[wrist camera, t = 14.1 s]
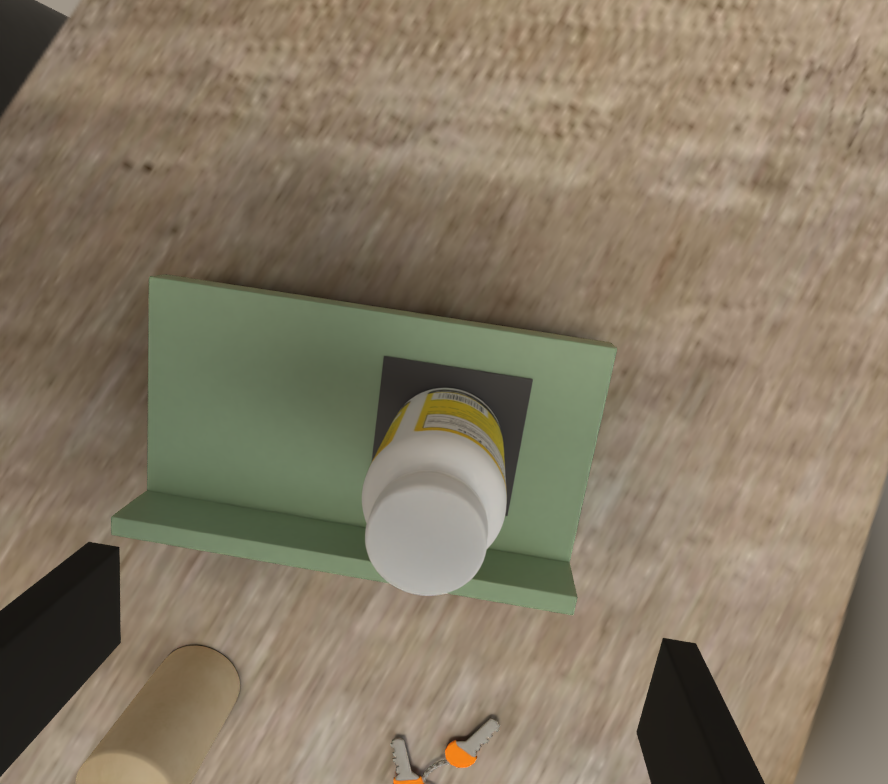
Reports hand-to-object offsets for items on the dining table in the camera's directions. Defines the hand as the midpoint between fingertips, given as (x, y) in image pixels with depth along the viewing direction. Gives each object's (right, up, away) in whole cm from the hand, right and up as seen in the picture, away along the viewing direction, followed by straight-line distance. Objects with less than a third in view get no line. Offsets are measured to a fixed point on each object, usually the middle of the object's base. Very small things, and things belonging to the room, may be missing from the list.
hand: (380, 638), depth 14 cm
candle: (-15, -13, +26) cm, 32 cm away
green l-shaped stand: (-2, +5, +20) cm, 20 cm away
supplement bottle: (+2, +4, +14) cm, 15 cm away
